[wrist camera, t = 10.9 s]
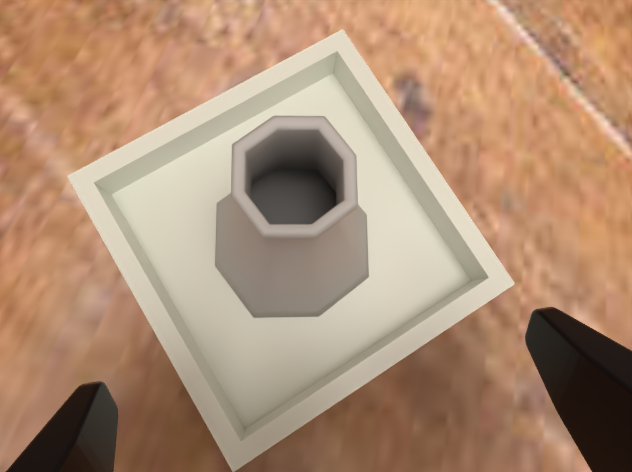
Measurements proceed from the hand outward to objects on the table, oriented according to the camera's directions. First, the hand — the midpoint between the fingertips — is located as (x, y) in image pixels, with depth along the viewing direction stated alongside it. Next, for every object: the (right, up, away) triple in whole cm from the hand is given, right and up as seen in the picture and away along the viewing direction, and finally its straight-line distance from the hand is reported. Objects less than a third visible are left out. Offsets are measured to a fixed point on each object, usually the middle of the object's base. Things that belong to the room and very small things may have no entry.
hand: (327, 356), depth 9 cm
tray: (-1, +2, +12) cm, 12 cm away
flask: (-1, +2, +11) cm, 12 cm away
